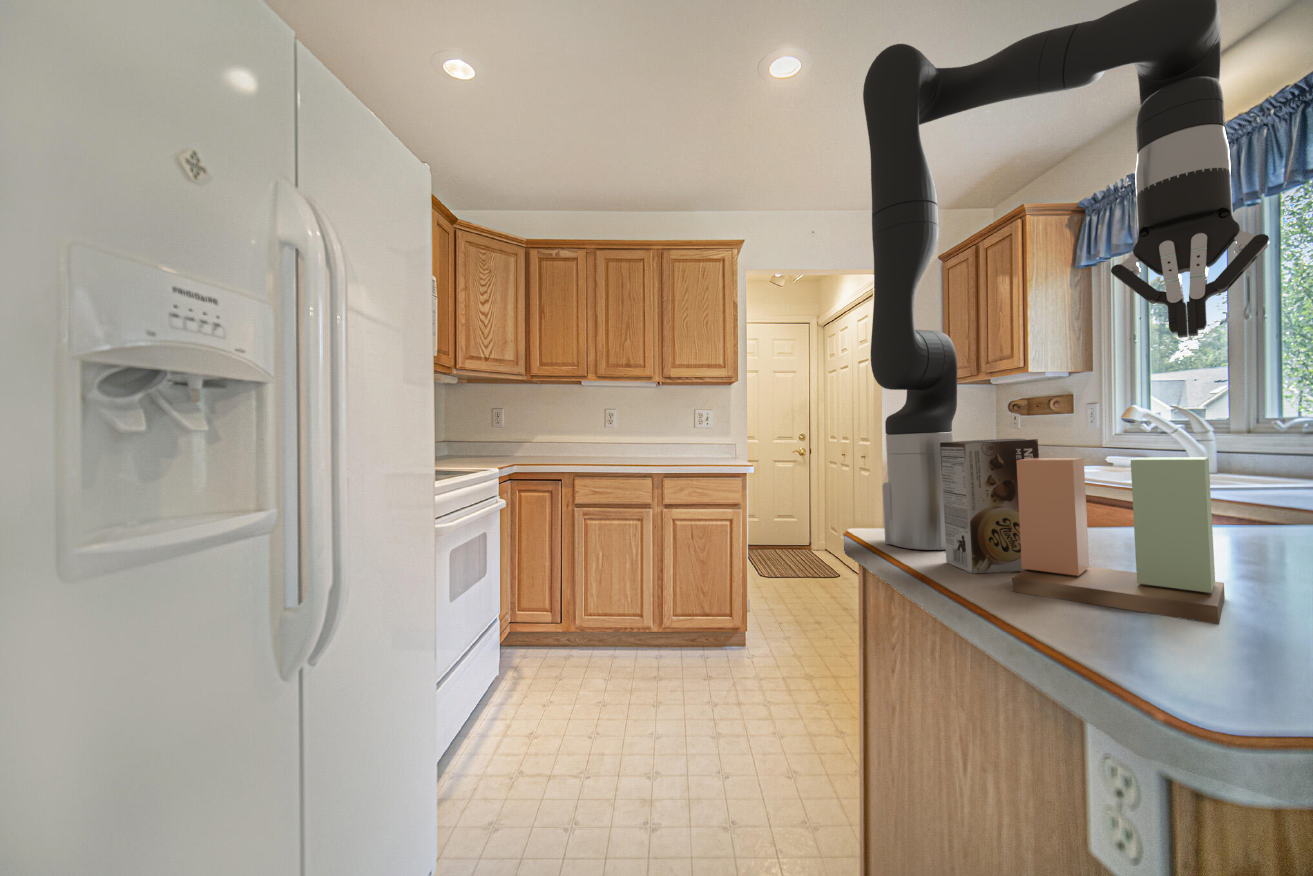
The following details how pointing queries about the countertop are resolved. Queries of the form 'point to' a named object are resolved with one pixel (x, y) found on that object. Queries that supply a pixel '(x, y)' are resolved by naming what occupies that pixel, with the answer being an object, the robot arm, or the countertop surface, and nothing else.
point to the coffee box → (983, 503)
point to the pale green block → (1173, 522)
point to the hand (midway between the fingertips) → (1188, 335)
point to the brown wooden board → (1123, 593)
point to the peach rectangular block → (1053, 515)
